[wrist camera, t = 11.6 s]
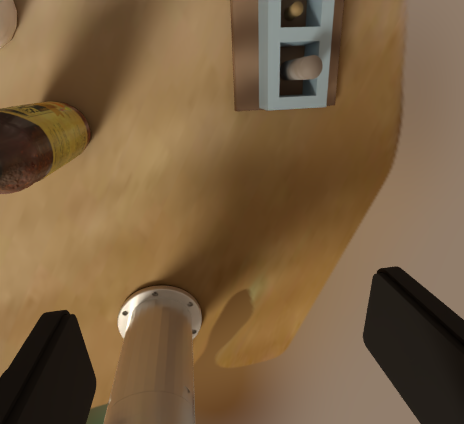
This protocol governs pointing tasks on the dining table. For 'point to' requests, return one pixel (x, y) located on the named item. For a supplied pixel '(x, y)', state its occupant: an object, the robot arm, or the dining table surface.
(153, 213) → the dining table surface
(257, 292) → the dining table surface
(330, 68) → the post block
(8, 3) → the bottle
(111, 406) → the robot arm
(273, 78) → the hollow blue brick
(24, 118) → the sauce bottle
